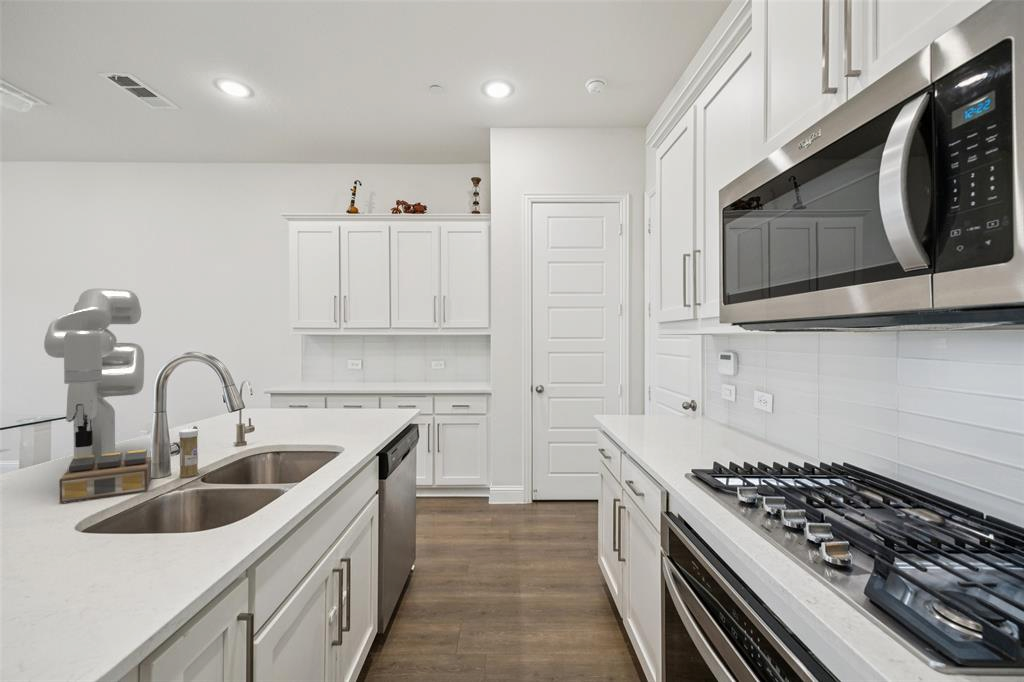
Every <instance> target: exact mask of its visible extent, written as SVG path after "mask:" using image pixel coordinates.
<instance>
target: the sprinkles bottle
mask: <svg viewBox="0 0 1024 682" xmlns="http://www.w3.org/2000/svg"><path fill="white" fill-rule="evenodd" d="M178 433H179V434H178V436H179V467H180V468H179V477H181V478H190V477H195V476H198V474H199V472H198V463H199V456H198V454H199V453H198V436H199V430H198V429H197V428H185V429H182V430H179V431H178Z"/></svg>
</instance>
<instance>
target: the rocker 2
mask: <svg viewBox="0 0 1024 682" xmlns="http://www.w3.org/2000/svg"><path fill="white" fill-rule="evenodd" d="M122 458H123V452H122V451H121V452H120V451H119V452H115V453H109V454H101V456H100V458H99V460H98V463H97V468H105V467H114V466H119V465H120V464H121V460H123V459H122Z"/></svg>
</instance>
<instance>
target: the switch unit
mask: <svg viewBox="0 0 1024 682" xmlns="http://www.w3.org/2000/svg"><path fill="white" fill-rule="evenodd" d="M151 480H152V456H149V457H146V461H145V463H140V464H131V465H124V459H121V464H120V465H119V466H114V467H105V468H97V463H94V467H93V468H92V469H88V470H79V471H71V472H69V470H68V471H67V470H66V472H65V473H64V474H63V475H62V476H61V477H60V478H59V487H58V488H59V504H60V503H62V504H65V503H64V502H69V503H71V502H70V501H76V502H80V501H79V500H83V501H88V500H87V499H90V500H95V499H94V498H97V499H102V498H103V497H104V498H111V497H117V495H118V496H125V495H130V494H139V493H145V492H148V489H149V486H150V483H151ZM110 496H111V497H110Z"/></svg>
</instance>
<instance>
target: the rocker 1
mask: <svg viewBox="0 0 1024 682" xmlns="http://www.w3.org/2000/svg"><path fill="white" fill-rule="evenodd" d="M95 461H96V455H90V456H80V457H74V456H73V458H72V459H71V462H70V463H69V465H68V468H69V472H71V471H79V470H88V469H92V468H93V467H94V463H95Z"/></svg>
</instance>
